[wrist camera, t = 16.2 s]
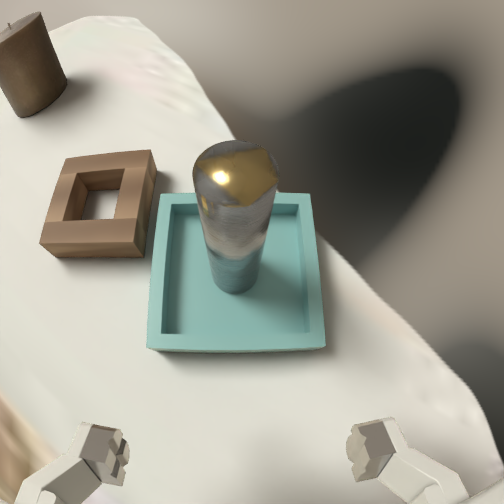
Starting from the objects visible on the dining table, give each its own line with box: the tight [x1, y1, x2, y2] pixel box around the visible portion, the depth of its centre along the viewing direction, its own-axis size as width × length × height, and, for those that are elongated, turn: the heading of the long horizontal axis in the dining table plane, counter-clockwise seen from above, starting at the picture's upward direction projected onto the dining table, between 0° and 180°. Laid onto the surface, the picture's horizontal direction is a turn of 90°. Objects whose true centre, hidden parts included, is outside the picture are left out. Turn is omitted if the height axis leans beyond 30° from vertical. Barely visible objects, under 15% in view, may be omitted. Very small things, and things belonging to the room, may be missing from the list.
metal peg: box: [192, 140, 279, 294], centre depth 18 cm, size 4×4×12 cm
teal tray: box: [146, 193, 326, 353], centre depth 23 cm, size 12×12×2 cm
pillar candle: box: [0, 12, 67, 117], centre depth 26 cm, size 10×10×15 cm
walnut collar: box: [39, 150, 157, 258], centre depth 24 cm, size 9×9×3 cm
